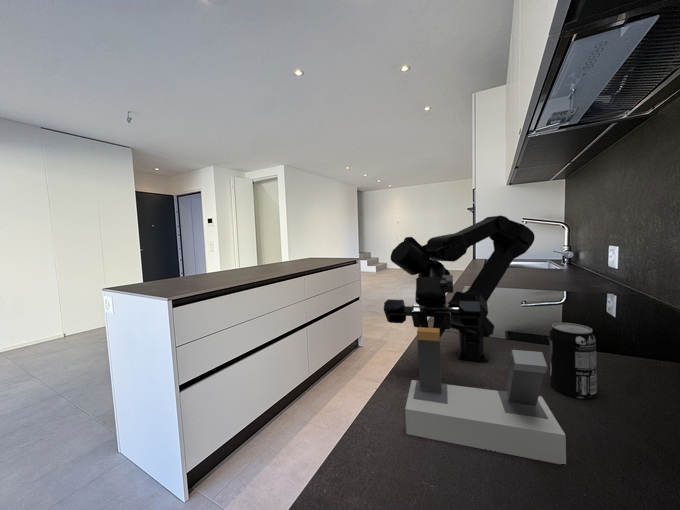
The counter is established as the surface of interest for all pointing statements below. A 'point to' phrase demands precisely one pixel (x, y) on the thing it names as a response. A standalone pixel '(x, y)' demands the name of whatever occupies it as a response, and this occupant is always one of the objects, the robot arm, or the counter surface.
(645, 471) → the counter surface
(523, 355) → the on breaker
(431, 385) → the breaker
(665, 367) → the counter surface
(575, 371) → the beverage can
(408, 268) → the robot arm
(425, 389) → the grey mounting base
